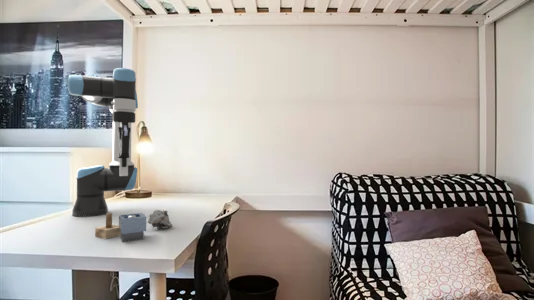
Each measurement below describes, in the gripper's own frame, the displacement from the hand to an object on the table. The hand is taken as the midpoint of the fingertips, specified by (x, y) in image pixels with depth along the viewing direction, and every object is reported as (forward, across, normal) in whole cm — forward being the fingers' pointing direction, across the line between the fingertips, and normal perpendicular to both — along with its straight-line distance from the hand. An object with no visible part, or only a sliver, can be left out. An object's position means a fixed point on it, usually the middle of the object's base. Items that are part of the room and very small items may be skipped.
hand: (123, 175), depth 113 cm
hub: (+22, +6, +2) cm, 23 cm away
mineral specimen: (+22, -4, +14) cm, 27 cm away
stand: (+22, -2, -5) cm, 23 cm away
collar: (+19, +6, +2) cm, 20 cm away
